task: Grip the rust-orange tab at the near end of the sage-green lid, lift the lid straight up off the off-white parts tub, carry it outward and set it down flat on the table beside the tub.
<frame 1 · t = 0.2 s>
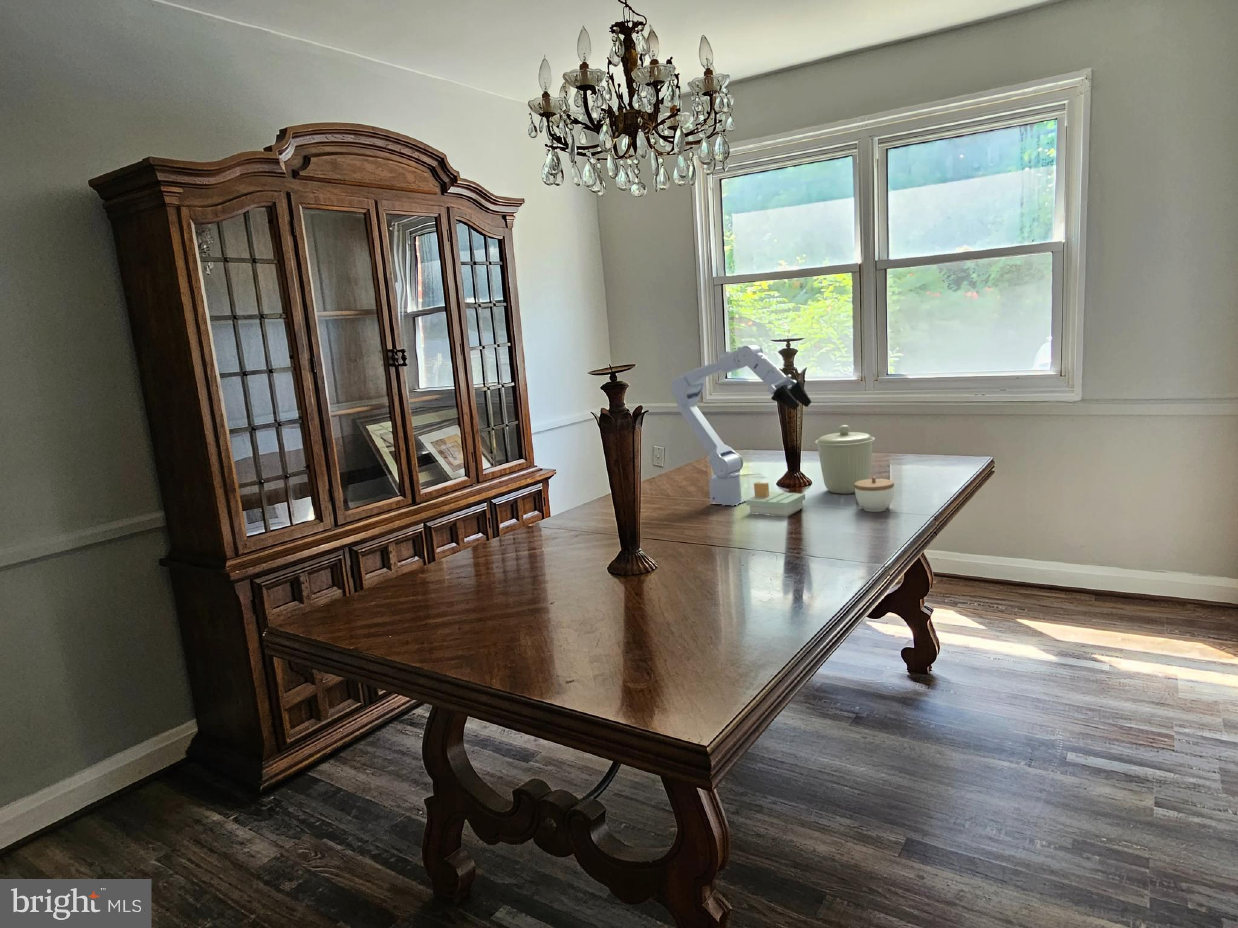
hand: (803, 406, 219), 31 cm above the table, tool tilted 45°, fingers open, 7 cm apart
lidded jar: (875, 509, 217), on the table
canister: (847, 491, 243), on the table
parts tub: (776, 511, 227), on the table
lid: (775, 499, 226), point 3 cm above the table, touching parts tub
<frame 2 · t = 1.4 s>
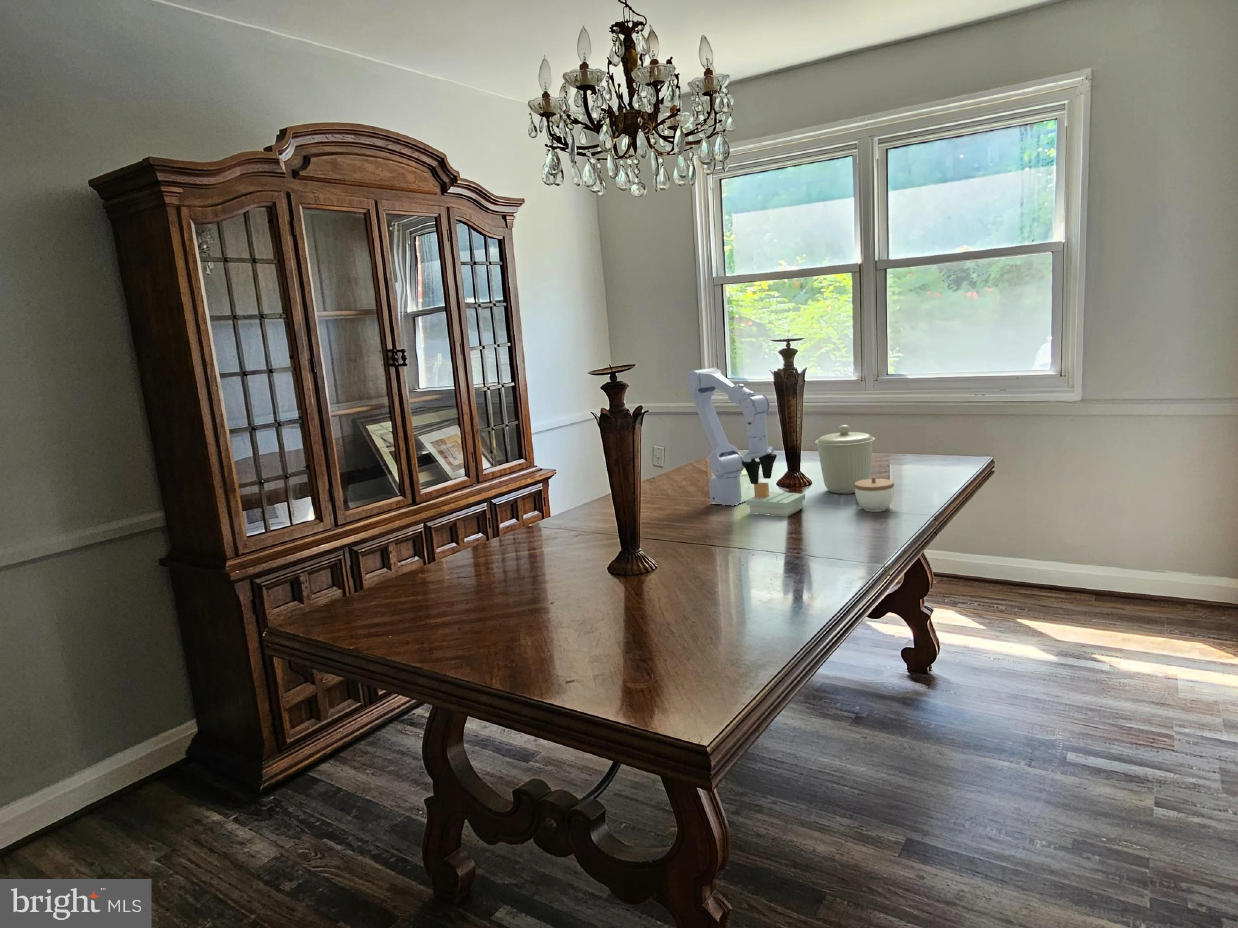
hand: (761, 481, 228), 9 cm above the table, tool pointing down, fingers open, 7 cm apart
nothing on the table moved.
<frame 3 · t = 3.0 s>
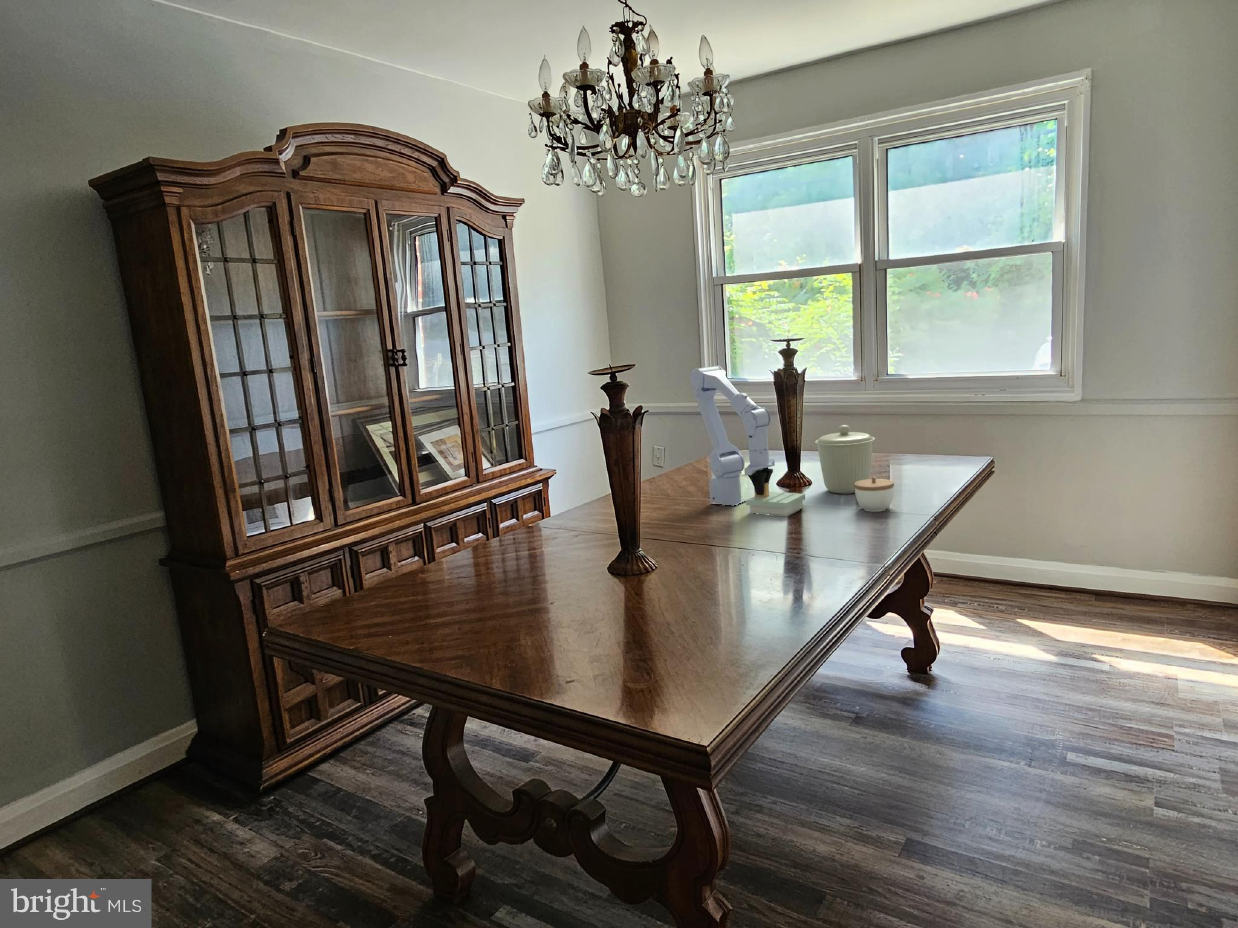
hand: (761, 493, 229), 5 cm above the table, tool pointing down, fingers closed on lid
lid: (775, 499, 226), point 3 cm above the table, touching gripper, parts tub
everything else where it was.
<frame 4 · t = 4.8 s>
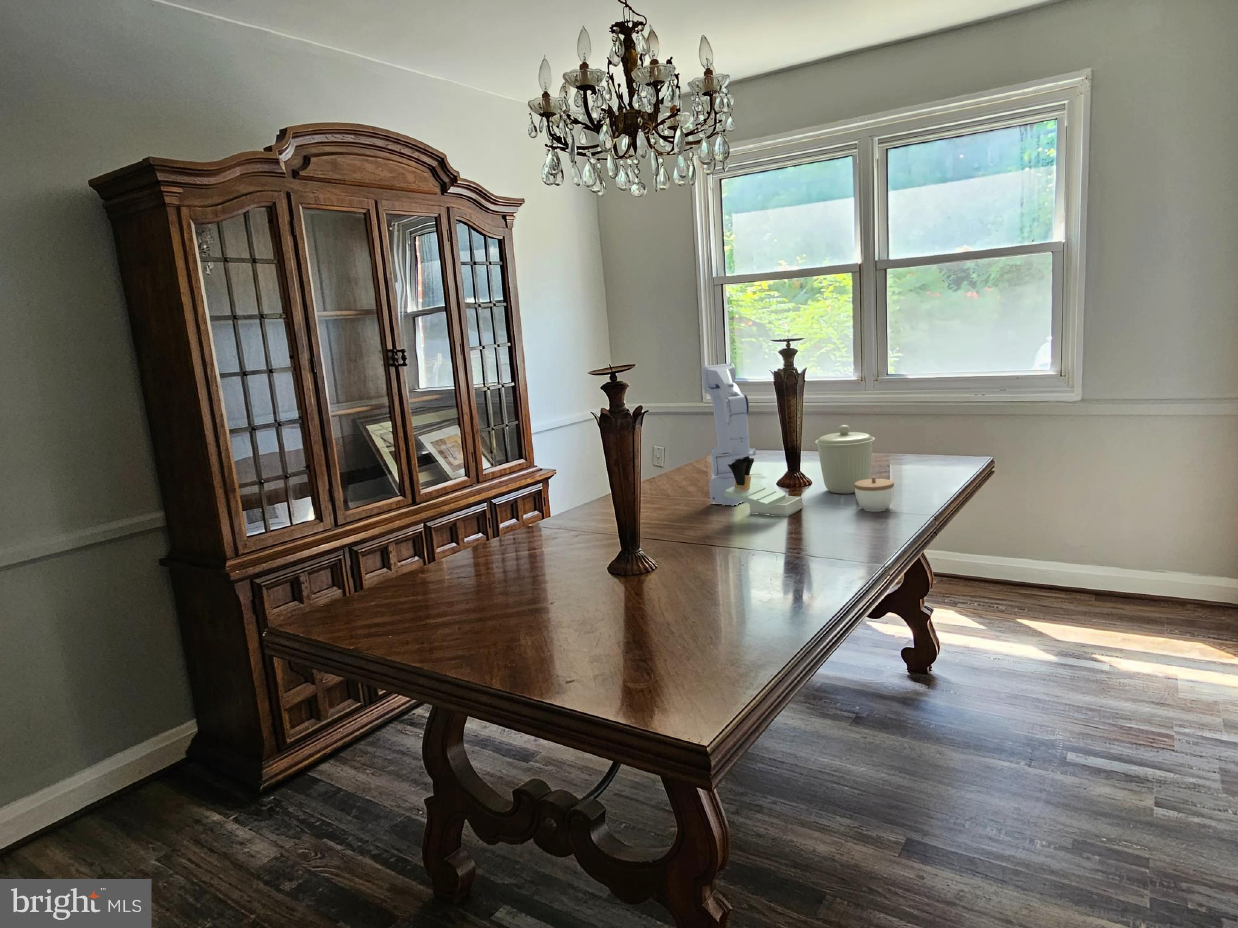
hand: (742, 484, 220), 10 cm above the table, tool pointing down, fingers closed on lid
lid: (755, 494, 218), point 7 cm above the table, tilted 13°, touching gripper
everything else where it was.
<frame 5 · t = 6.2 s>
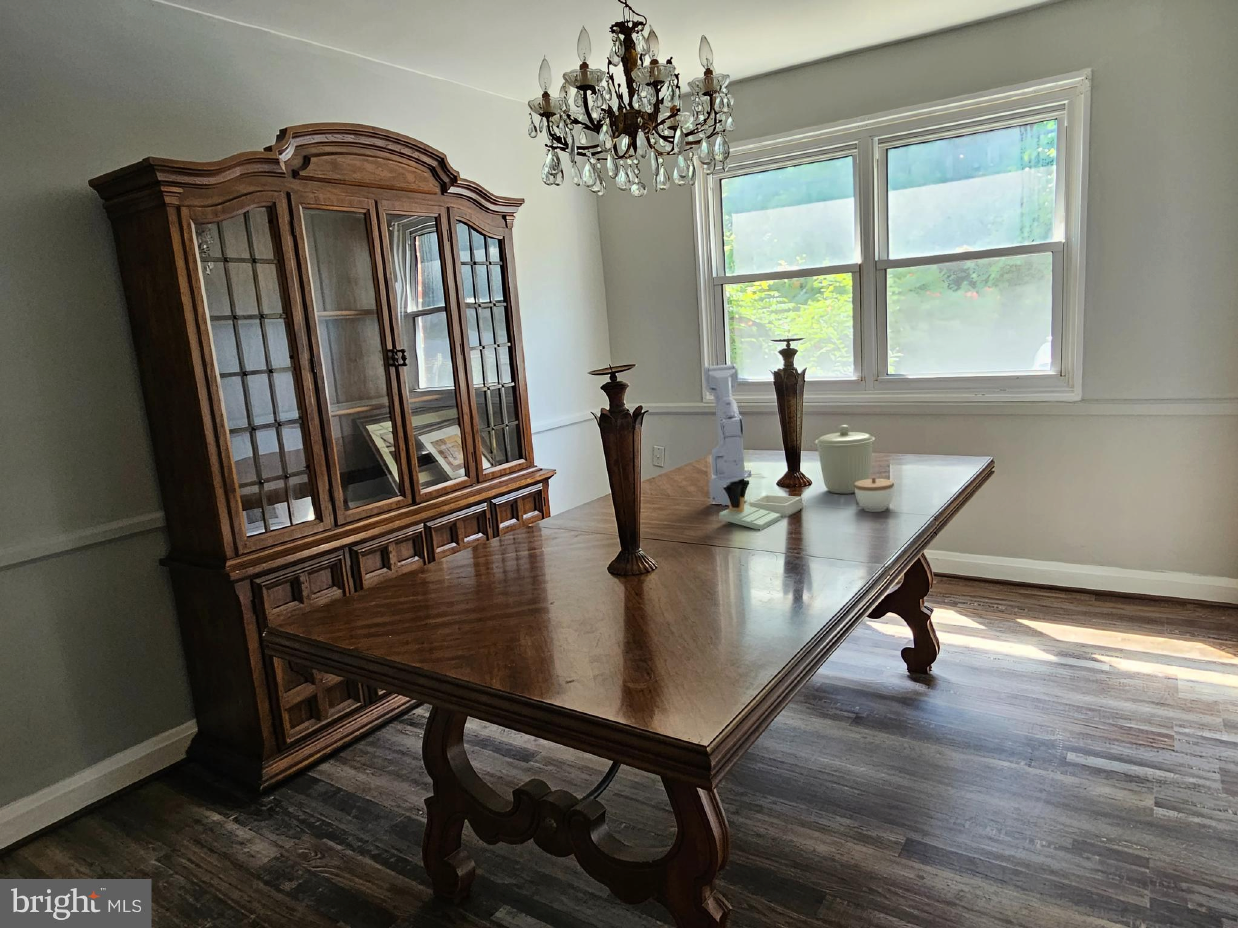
hand: (737, 506, 218), 4 cm above the table, tool pointing down, fingers closed on lid
lid: (749, 516, 216), point 2 cm above the table, tilted 10°, touching gripper
everything else where it was.
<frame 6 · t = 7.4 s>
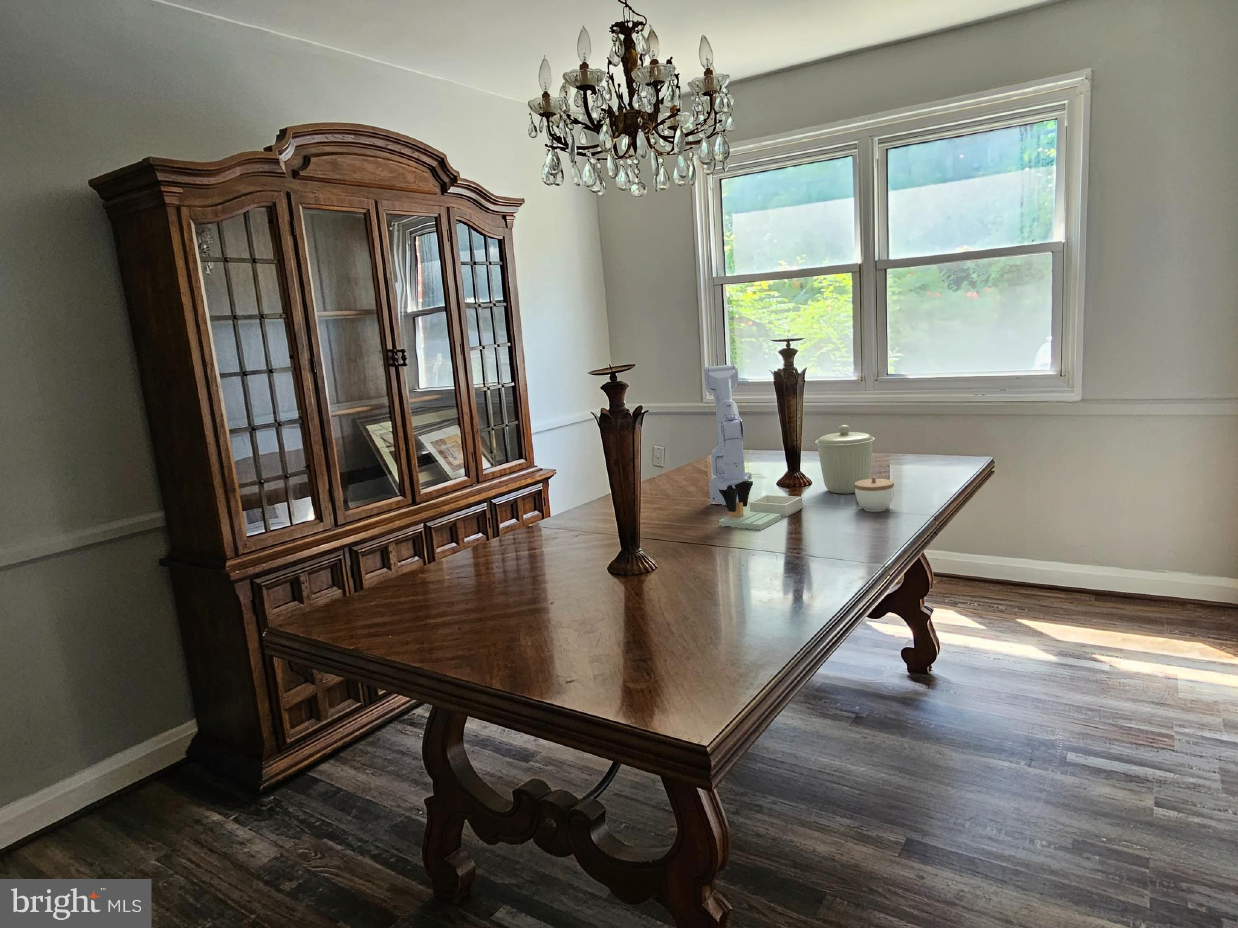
hand: (737, 508, 219), 4 cm above the table, tool pointing down, fingers open, 6 cm apart
lid: (750, 520, 217), point 1 cm above the table
everything else where it was.
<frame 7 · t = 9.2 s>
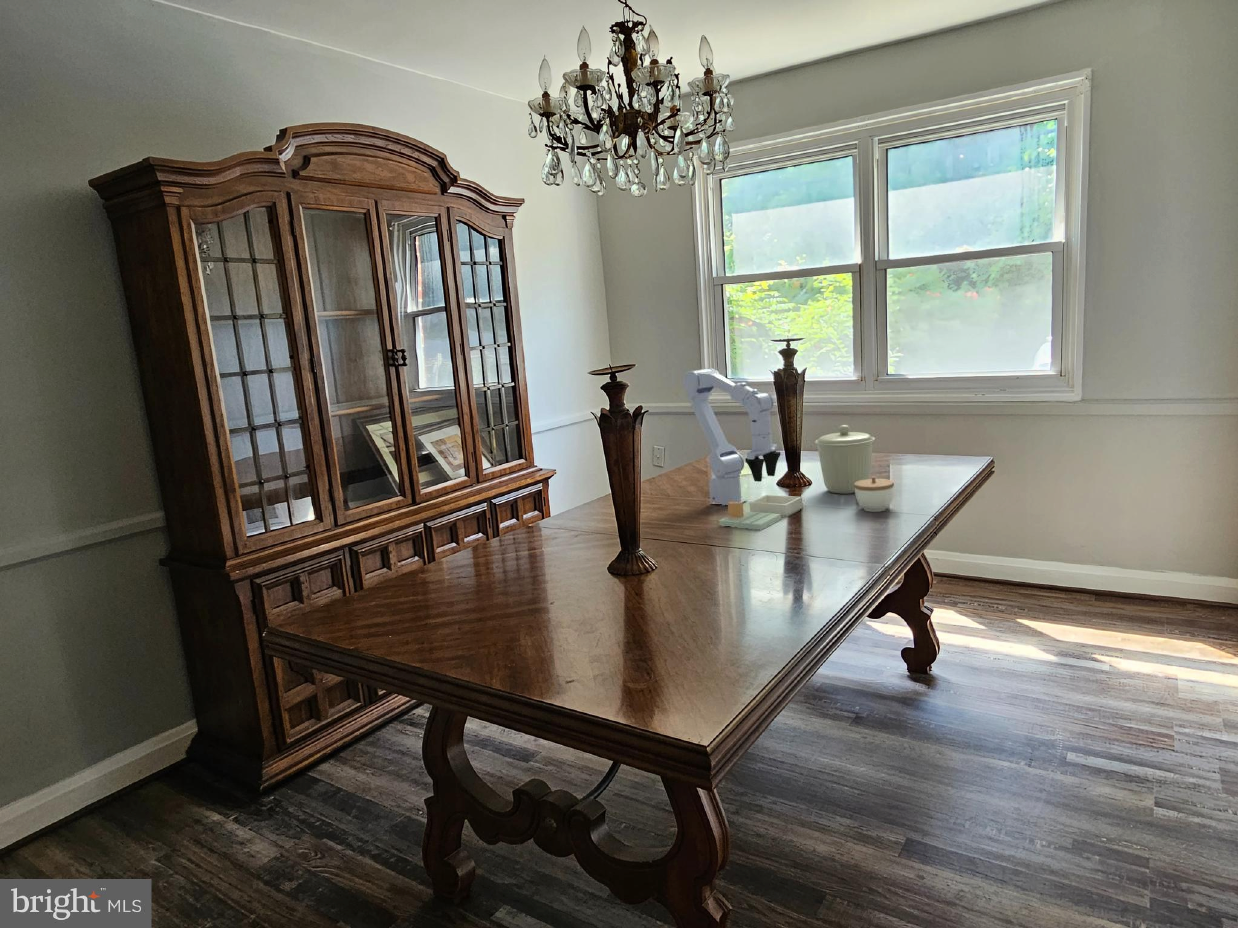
hand: (764, 478, 229), 9 cm above the table, tool pointing down, fingers open, 7 cm apart
nothing on the table moved.
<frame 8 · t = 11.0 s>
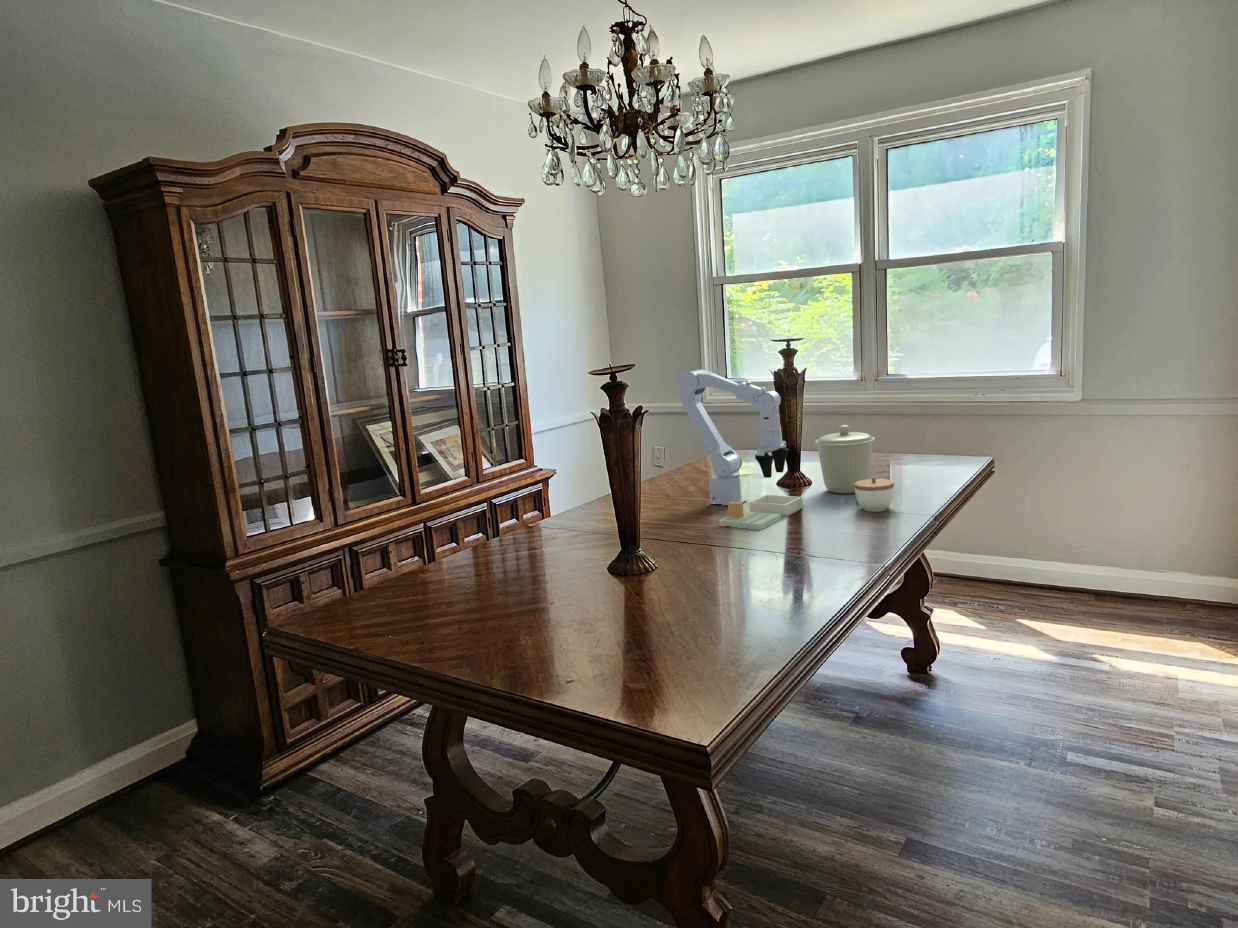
hand: (773, 474, 233), 9 cm above the table, tool pointing down, fingers open, 7 cm apart
nothing on the table moved.
at the end: lid inside the target area (0.7 cm from its centre), point 0.8 cm above the table; lid touching table; the gripper is holding nothing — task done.
